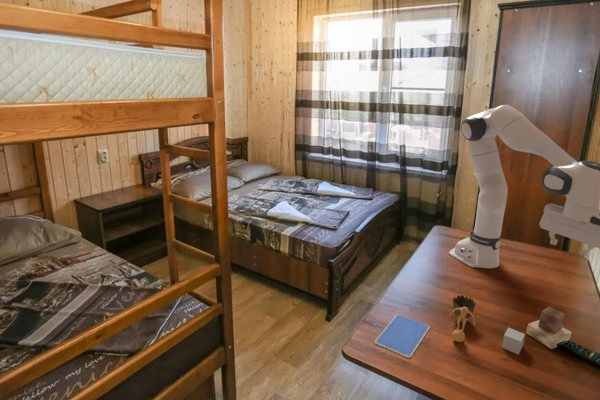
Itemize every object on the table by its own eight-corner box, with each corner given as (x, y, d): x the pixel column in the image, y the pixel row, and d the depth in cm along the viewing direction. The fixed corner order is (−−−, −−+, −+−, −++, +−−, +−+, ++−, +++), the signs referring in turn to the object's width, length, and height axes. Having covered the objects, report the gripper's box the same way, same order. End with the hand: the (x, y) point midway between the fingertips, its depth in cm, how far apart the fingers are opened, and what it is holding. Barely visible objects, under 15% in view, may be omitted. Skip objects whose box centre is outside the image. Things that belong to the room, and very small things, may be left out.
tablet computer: (410, 360, 120) (410, 357, 120) (373, 344, 127) (373, 341, 127) (430, 328, 135) (430, 325, 135) (396, 316, 142) (396, 313, 142)
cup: (462, 328, 134) (465, 309, 132) (446, 317, 140) (448, 298, 138) (477, 322, 137) (480, 303, 135) (460, 311, 144) (463, 293, 141)
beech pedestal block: (525, 333, 132) (527, 323, 131) (543, 326, 135) (545, 317, 134) (551, 350, 124) (553, 339, 123) (569, 342, 128) (571, 332, 126)
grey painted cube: (501, 347, 125) (504, 334, 123) (505, 340, 128) (508, 327, 127) (518, 354, 122) (521, 341, 120) (522, 346, 125) (525, 334, 124)
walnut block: (538, 326, 129) (541, 311, 127) (545, 321, 132) (548, 306, 130) (554, 334, 125) (557, 318, 123) (561, 328, 128) (565, 313, 126)
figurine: (443, 338, 129) (447, 308, 125) (449, 329, 133) (453, 300, 130) (469, 349, 124) (474, 317, 120) (474, 339, 129) (479, 308, 125)
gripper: (541, 203, 131) (531, 239, 135) (612, 224, 115) (598, 265, 119) (550, 200, 134) (540, 235, 139) (620, 220, 118) (606, 260, 123)
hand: (567, 249), depth 129 cm, fingers open, 8 cm apart
